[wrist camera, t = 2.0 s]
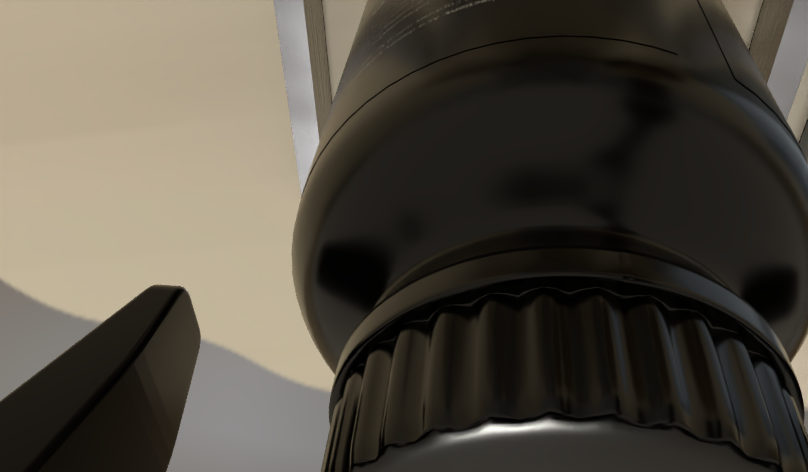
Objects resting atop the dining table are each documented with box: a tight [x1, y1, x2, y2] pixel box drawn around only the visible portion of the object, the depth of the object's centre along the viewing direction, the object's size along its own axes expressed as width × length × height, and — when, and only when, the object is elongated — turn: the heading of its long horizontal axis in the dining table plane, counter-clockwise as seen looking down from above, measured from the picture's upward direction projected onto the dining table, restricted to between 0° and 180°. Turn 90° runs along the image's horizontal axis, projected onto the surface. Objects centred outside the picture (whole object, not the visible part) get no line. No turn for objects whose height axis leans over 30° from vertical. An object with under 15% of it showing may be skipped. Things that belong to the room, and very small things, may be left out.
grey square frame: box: [274, 0, 808, 196], centre depth 15 cm, size 10×10×2 cm
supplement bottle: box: [292, 0, 808, 472], centre depth 11 cm, size 7×7×12 cm
